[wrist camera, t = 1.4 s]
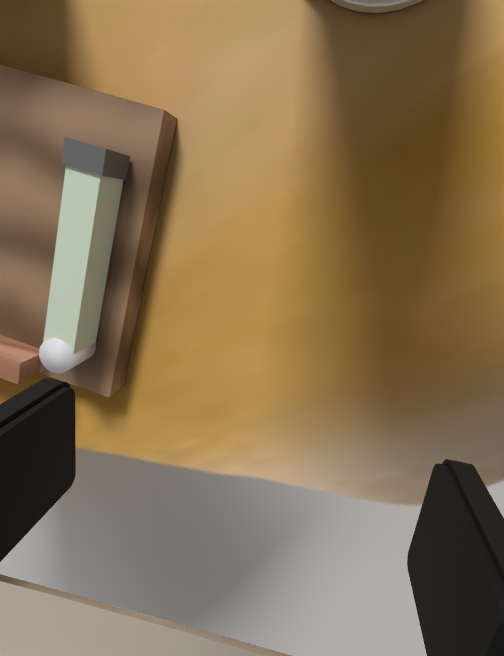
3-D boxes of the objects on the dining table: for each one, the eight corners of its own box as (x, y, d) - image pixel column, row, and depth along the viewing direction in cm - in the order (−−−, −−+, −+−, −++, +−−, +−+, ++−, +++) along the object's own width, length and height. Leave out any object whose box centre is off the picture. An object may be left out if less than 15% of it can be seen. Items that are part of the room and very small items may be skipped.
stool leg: (94, 363, 33) (70, 378, 30) (62, 352, 33) (35, 366, 30) (130, 156, 28) (106, 148, 25) (93, 145, 28) (64, 136, 25)
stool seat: (-44, 56, 31) (-119, 24, 26) (177, 118, 29) (144, 97, 24) (-57, 323, 38) (-119, 340, 32) (123, 385, 36) (88, 414, 31)
